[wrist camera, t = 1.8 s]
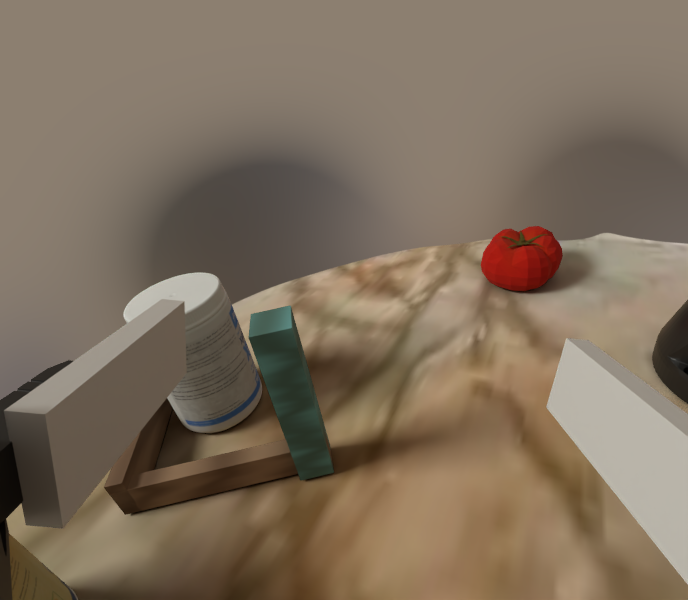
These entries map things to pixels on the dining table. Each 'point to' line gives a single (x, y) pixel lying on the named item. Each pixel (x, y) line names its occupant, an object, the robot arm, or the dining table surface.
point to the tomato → (521, 258)
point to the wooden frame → (243, 465)
